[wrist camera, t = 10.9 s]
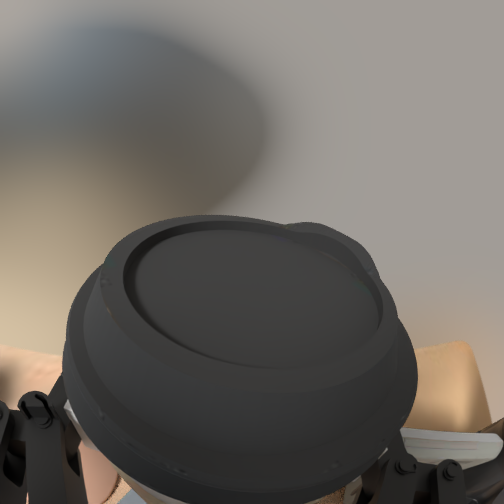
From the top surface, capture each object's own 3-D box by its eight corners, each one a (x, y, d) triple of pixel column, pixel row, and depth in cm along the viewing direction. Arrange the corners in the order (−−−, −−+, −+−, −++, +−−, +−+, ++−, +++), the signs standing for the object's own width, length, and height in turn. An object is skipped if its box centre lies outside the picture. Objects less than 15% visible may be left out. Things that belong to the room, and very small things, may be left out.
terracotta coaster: (143, 462, 22) (142, 460, 22) (65, 539, 12) (62, 538, 12) (62, 394, 26) (60, 391, 26) (-11, 450, 16) (-14, 447, 16)
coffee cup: (193, 584, 7) (169, 612, 1) (108, 460, 13) (28, 211, 7) (323, 501, 13) (488, 295, 6) (231, 409, 19) (270, 185, 12)
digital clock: (446, 464, 23) (503, 409, 19) (437, 528, 16) (509, 483, 11) (328, 428, 29) (366, 364, 24) (297, 493, 22) (340, 444, 17)
